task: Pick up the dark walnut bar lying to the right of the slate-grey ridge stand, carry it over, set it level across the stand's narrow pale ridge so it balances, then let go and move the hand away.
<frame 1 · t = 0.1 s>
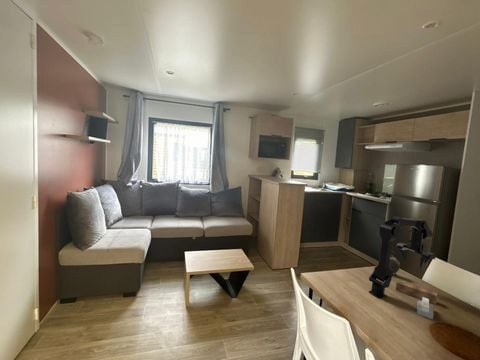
hand: (413, 264, 134), 14 cm above the table, fingers open, 9 cm apart
alarm clock: (388, 274, 152), on the table
ridge stand: (424, 311, 112), on the table
walnut bar: (414, 296, 127), on the table
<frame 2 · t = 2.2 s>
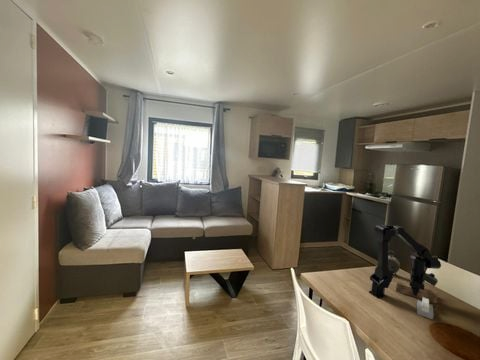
hand: (415, 293, 126), 1 cm above the table, fingers open, 4 cm apart
walnut bar: (415, 295, 127), on the table, touching gripper
everything else where it was.
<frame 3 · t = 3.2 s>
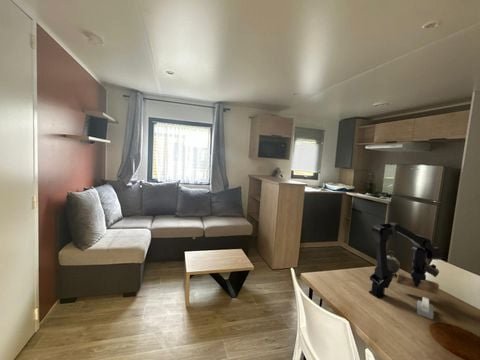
hand: (416, 285, 126), 6 cm above the table, fingers closed on walnut bar, 4 cm apart
walnut bar: (416, 287, 126), point 5 cm above the table, touching gripper
everything else where it was.
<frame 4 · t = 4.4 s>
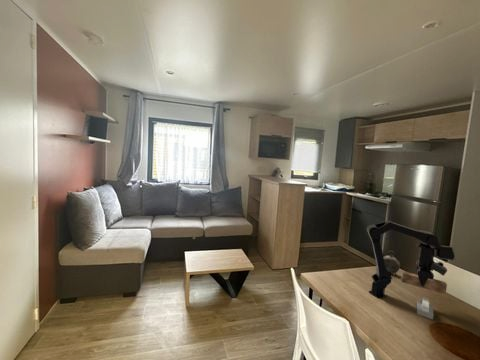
hand: (422, 284, 118), 11 cm above the table, fingers closed on walnut bar, 4 cm apart
walnut bar: (422, 286, 118), point 10 cm above the table, touching gripper
everything else where it was.
when the fingers open (6 cm above the table, at t = 6.1 s): walnut bar stays where it is, resting on ridge stand.
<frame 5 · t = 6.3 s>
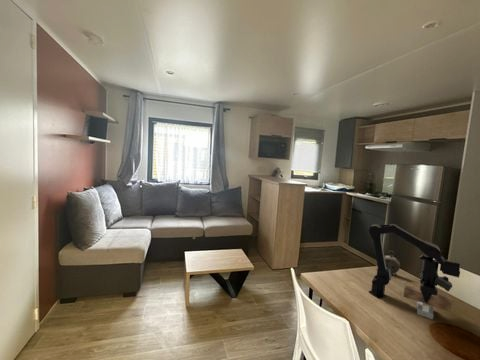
hand: (426, 299, 112), 6 cm above the table, fingers open, 6 cm apart
walnut bar: (425, 302, 112), point 5 cm above the table, touching ridge stand
everything else where it was.
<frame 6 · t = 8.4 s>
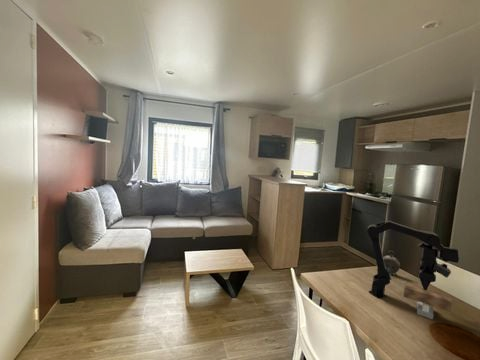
hand: (425, 286, 114), 12 cm above the table, fingers open, 9 cm apart
nothing on the table moved.
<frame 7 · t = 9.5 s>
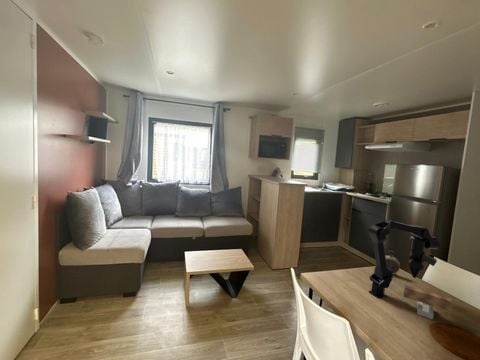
hand: (414, 274, 126), 12 cm above the table, fingers open, 9 cm apart
nothing on the table moved.
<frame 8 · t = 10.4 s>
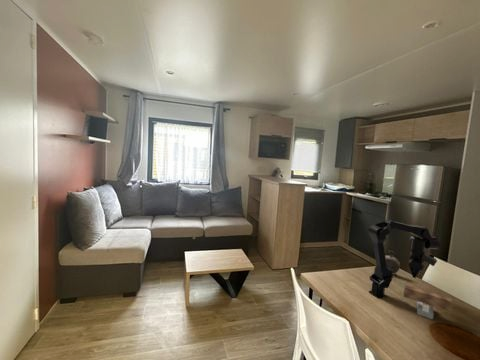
hand: (414, 274, 126), 12 cm above the table, fingers open, 9 cm apart
nothing on the table moved.
at the end: walnut bar 0.0 cm off-centre on the ridge stand, point 5.0 cm above the ridge stand's base; walnut bar tilted 0°; walnut bar touching ridge stand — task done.
